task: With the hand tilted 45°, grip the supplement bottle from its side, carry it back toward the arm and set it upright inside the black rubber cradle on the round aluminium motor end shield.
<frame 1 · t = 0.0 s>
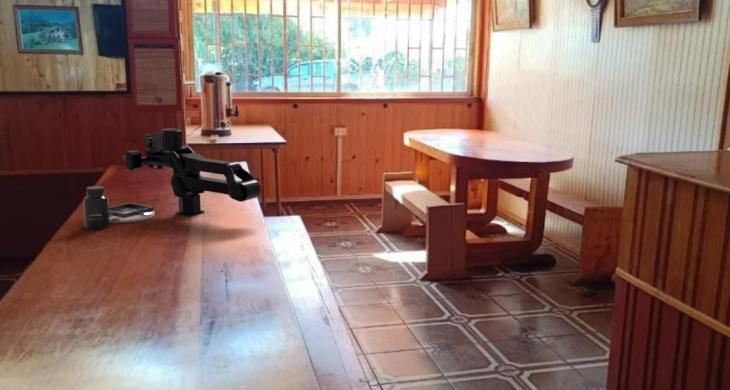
hand: (134, 155, 211), 17 cm above the table, tool horizontal, fingers open, 9 cm apart
motor end shield: (127, 216, 197), on the table
supplement bottle: (97, 227, 185), on the table
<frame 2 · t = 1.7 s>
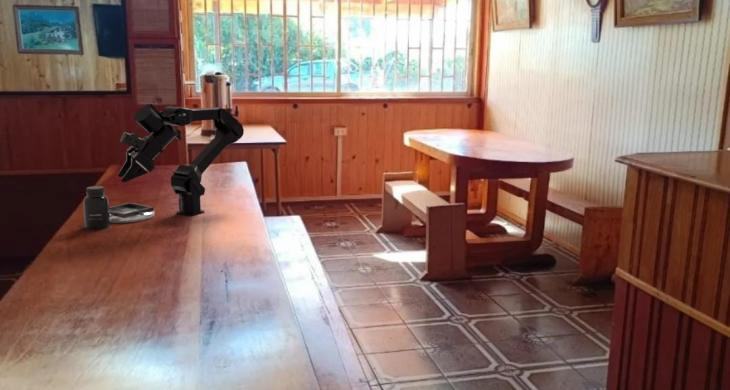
hand: (120, 179, 186), 14 cm above the table, tool tilted 45°, fingers open, 9 cm apart
nothing on the table moved.
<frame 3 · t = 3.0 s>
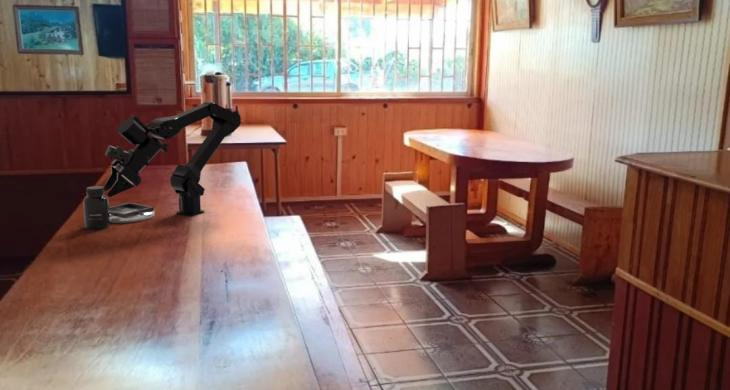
hand: (105, 193, 184), 10 cm above the table, tool tilted 45°, fingers open, 9 cm apart
nothing on the table moved.
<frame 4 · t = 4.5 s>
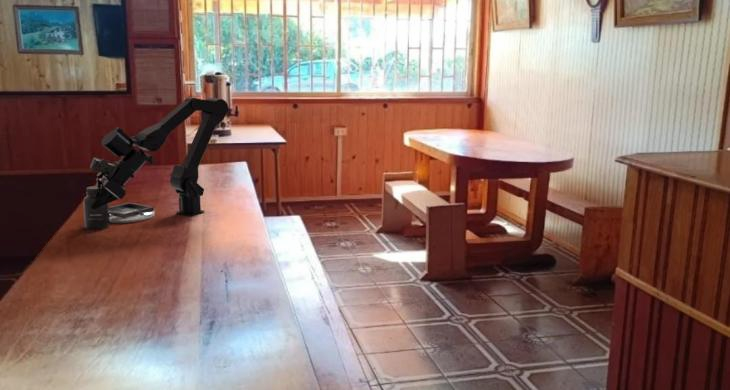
hand: (90, 205, 182), 7 cm above the table, tool tilted 45°, fingers closed on supplement bottle, 7 cm apart
supplement bottle: (97, 227, 185), on the table, touching gripper
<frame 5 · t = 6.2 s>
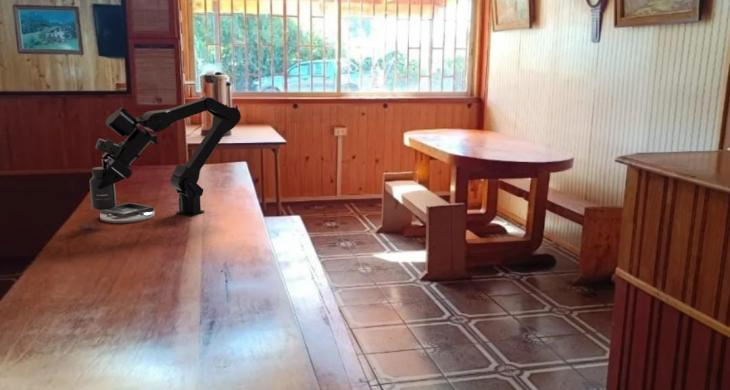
hand: (97, 186, 184), 12 cm above the table, tool tilted 45°, fingers closed on supplement bottle, 7 cm apart
supplement bottle: (104, 208, 186), point 5 cm above the table, touching gripper
when the fingers open (9 cm above the table, at t = 8.2 s): supplement bottle stays where it is, resting on motor end shield.
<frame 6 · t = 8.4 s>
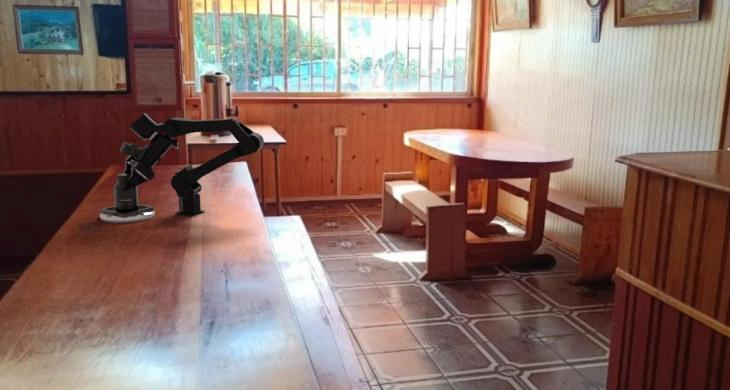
hand: (120, 187, 194), 10 cm above the table, tool tilted 45°, fingers open, 9 cm apart
supplement bottle: (127, 212, 197), point 1 cm above the table, touching motor end shield
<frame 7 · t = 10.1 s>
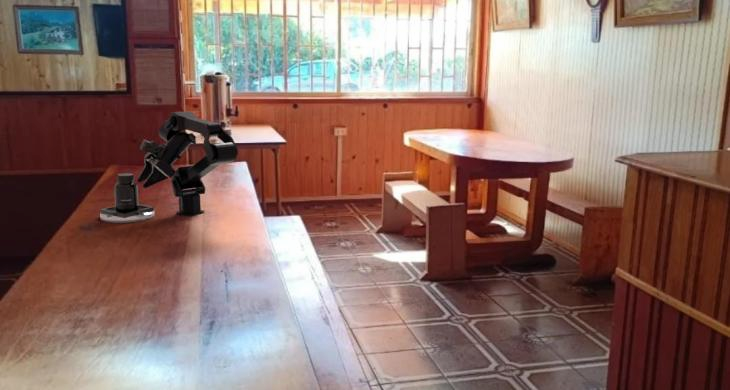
hand: (140, 184, 197), 10 cm above the table, tool tilted 45°, fingers open, 9 cm apart
nothing on the table moved.
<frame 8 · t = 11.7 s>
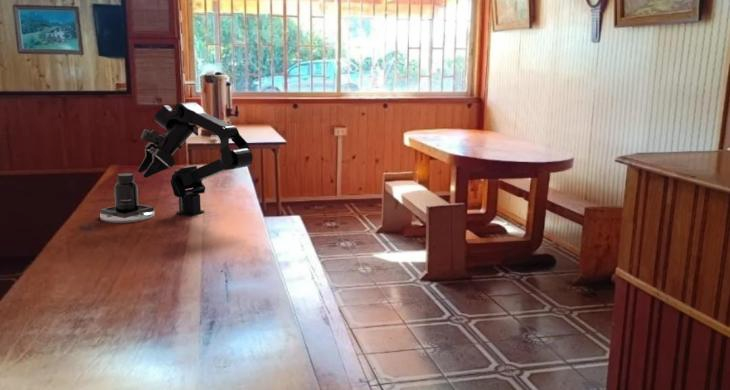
hand: (141, 174, 194), 14 cm above the table, tool tilted 45°, fingers open, 9 cm apart
nothing on the table moved.
at the end: supplement bottle 0.1 cm off-centre on the motor end shield, point 1.3 cm above the motor end shield's base; supplement bottle tilted 0°; the gripper is holding nothing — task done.
